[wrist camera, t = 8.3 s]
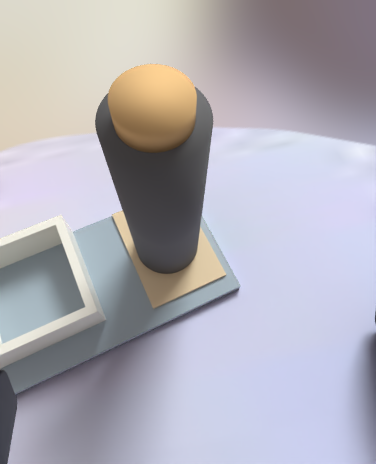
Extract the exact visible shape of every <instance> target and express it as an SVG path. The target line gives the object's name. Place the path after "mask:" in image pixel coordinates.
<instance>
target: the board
mask: <svg viewBox="0 0 376 464" xmlns="http://www.w3.org/2000/svg"><path fill="white" fill-rule="evenodd" d="M239 288H240V284H239V282H238V280H237V279H236V277H235V275H234V273H233V271H232V269H231V268H230V266H229V264H228V262H227V260H226V259H225V257H224V255H223V253H222V251H221V249H220V248H219V246H218V244H217V242H216V240H215V239H214V237H213V235H212V233H211V231H210V230H209V228H208V226H207V224H206V222H205V220H204V219H203V217H202V216H201V224H200V232H199V241H198V248H197V253H196V256H195V258H194V259H193V261H192V262H191V263H190V264H189V265H188V266H187V267H186V268H185V269H183V270H181V271H179V272H176V273H171V274H162V273H157V272H154V271H152V270H150V269H149V268H147V267H146V266H145V265H144V264H143V263H142V262H141V260H140V258H139V257H138V254H137V251H136V248H135V245H134V242H133V239H132V236H131V233H130V230H129V227H128V224H127V221H126V218H125V215H124V212H123V210H122V211H120V212H117V213H115V214H112V216H111V217H109V218H106V219H104V220H101V221H99V222H96V223H94V224H91V225H89V226H86V227H84V228H81V229H79V230H76V231H74V232H73V231H72V230H71V228H70V227H69V225H68V224H67V222H66V221H65V219H64V218H63V216H62V215H59V216H57V217H54V218H51V219H49V220H46V221H44V222H41V223H39V224H36V225H33V226H31V227H28V228H26V229H23V230H21V231H18V232H16V233H13V234H10V235H8V236H5V237H3V238H0V369H2V370H5V371H6V373H7V374H8V377H9V379H10V382H11V385H12V387H13V390H14V392H15V395H16V394H18V393H20V392H22V391H24V390H27V389H29V388H31V387H33V386H35V385H37V384H39V383H41V382H43V381H45V380H48V379H50V378H52V377H54V376H56V375H58V374H60V373H62V372H64V371H66V370H69V369H71V368H73V367H75V366H77V365H79V364H81V363H83V362H85V361H87V360H90V359H92V358H94V357H96V356H98V355H100V354H102V353H104V352H106V351H108V350H111V349H113V348H115V347H117V346H119V345H121V344H123V343H125V342H127V341H129V340H132V339H134V338H136V337H138V336H140V335H142V334H144V333H146V332H148V331H150V330H153V329H155V328H157V327H159V326H161V325H163V324H165V323H167V322H169V321H171V320H174V319H176V318H178V317H180V316H182V315H184V314H186V313H188V312H190V311H192V310H195V309H197V308H199V307H201V306H203V305H205V304H207V303H209V302H211V301H213V300H215V299H218V298H220V297H222V296H224V295H226V294H228V293H230V292H232V291H234V290H236V289H239Z"/></svg>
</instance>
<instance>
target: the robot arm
mask: <svg viewBox="0 0 376 464" xmlns="http://www.w3.org/2000/svg"><path fill="white" fill-rule="evenodd" d="M375 323H376V313H375ZM16 410H17V399H16V395H15V392H14V390H13V387H12V385H11V382H10V379H9V377H8V374H7V373H6V371H5V370H2V369H0V464H7V463H8V457H9V451H10V445H11V439H12V433H13V427H14V422H15V416H16Z"/></svg>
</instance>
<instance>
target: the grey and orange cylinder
mask: <svg viewBox="0 0 376 464" xmlns="http://www.w3.org/2000/svg"><path fill="white" fill-rule="evenodd" d="M95 125H96V131H97V135H98V138H99V141H100V144H101V147H102V150H103V153H104V156H105V159H106V162H107V165H108V168H109V171H110V174H111V177H112V180H113V183H114V186H115V189H116V192H117V195H118V198H119V201H120V203H121V206H122V209H123V212H124V215H125V218H126V221H127V224H128V227H129V230H130V233H131V236H132V239H133V242H134V245H135V248H136V251H137V254H138V257H139V258H140V260H141V262H142V263H143V264H144V265H145V266H146V267H147V268H149V269H150V270H152V271H154V272H157V273H162V274H171V273H176V272H179V271H181V270H183V269H185V268H186V267H187V266H188V265H189V264H190V263H191V262H192V261H193V259H194V258H195V256H196V253H197V248H198V241H199V232H200V224H201V216H202V208H203V200H204V192H205V184H206V176H207V168H208V160H209V152H210V144H211V135H212V127H213V114H212V110H211V107H210V104H209V103H208V101H207V99H206V98H205V97H204V95H203V94H202V93H201V92H200V91H199V90H198V89H197V88H196V87H194V85H193V83H192V82H191V80H190V79H189V78H188V77H187V76H186V75H185V74H183V73H182V72H180V71H179V70H177V69H174V68H172V67H169V66H166V65H160V64H147V65H140V66H137V67H134V68H131V69H129V70H127V71H125V72H124V73H122V74H121V75H120V76H119V77H118V78H117V79H116V80H115V81H114V82H113V84H112V85H111V87H110V90H109V93H108V94H107V95H106V96H105V97H104V99H103V100H102V102H101V103H100V105H99V107H98V110H97V113H96V120H95Z"/></svg>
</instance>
